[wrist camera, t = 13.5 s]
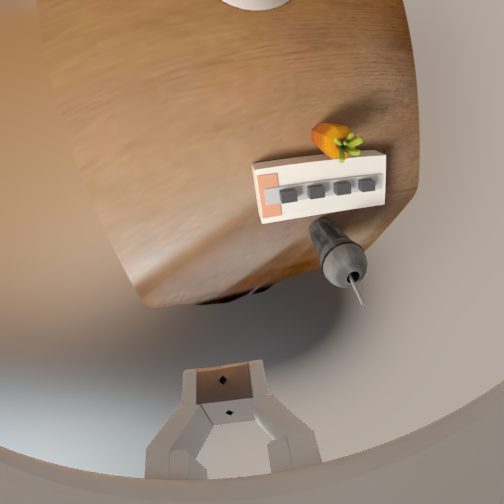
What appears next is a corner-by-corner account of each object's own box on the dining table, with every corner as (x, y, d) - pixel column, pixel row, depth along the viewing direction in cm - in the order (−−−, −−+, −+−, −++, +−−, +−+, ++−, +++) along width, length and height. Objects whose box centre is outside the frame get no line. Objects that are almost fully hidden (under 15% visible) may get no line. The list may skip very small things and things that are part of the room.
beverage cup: (342, 211, 51) (396, 273, 34) (335, 246, 55) (380, 315, 38) (305, 209, 50) (348, 275, 33) (299, 246, 54) (334, 320, 37)
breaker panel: (251, 163, 45) (256, 173, 40) (374, 149, 46) (392, 158, 41) (258, 213, 50) (263, 229, 45) (374, 196, 50) (390, 209, 45)
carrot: (307, 150, 45) (343, 176, 32) (295, 123, 42) (329, 138, 30) (333, 139, 44) (377, 161, 32) (323, 112, 42) (366, 123, 29)
